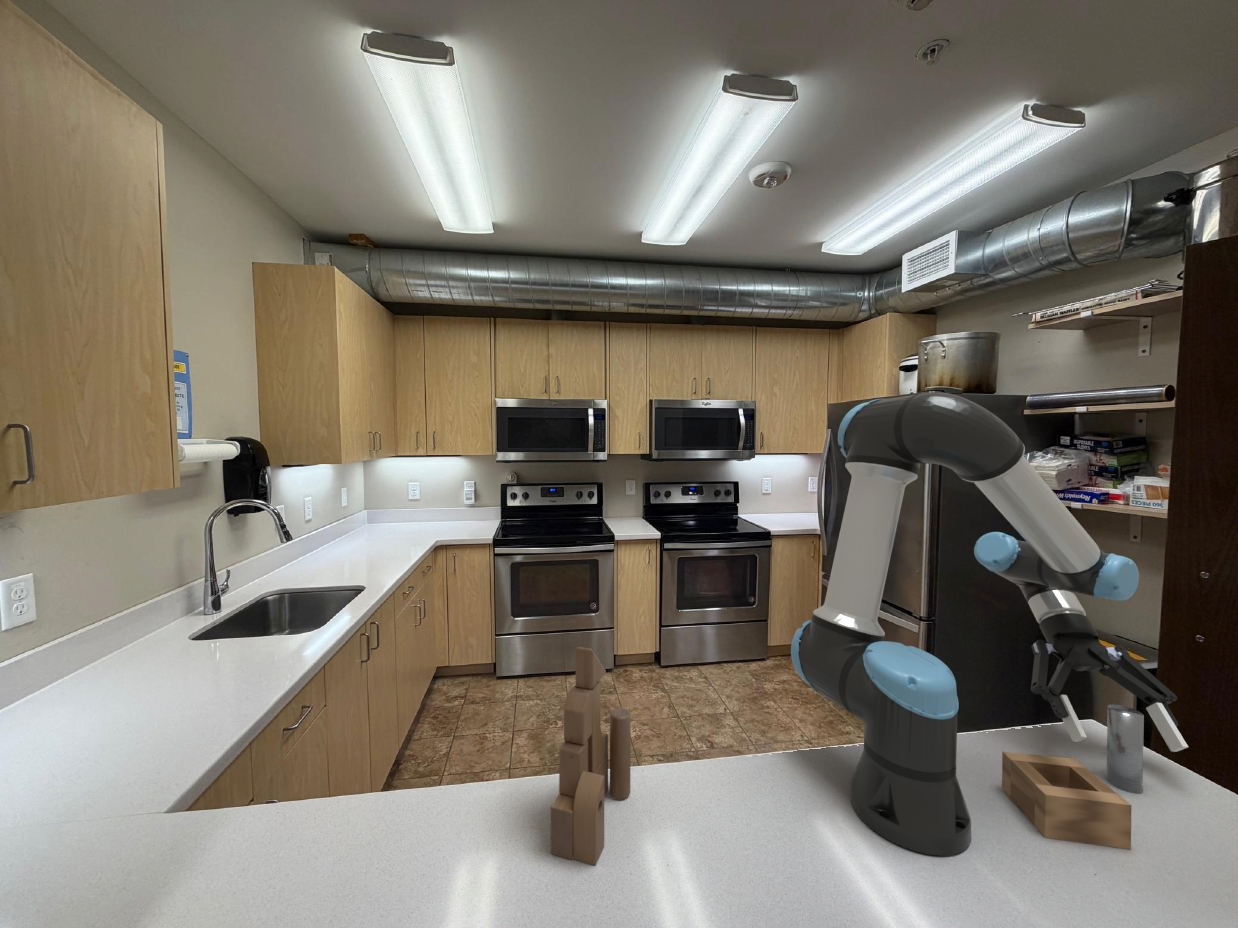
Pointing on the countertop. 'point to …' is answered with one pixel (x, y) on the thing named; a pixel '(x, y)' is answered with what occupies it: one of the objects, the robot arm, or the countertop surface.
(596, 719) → the wooden toy
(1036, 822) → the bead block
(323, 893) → the countertop surface
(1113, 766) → the silver metal peg
